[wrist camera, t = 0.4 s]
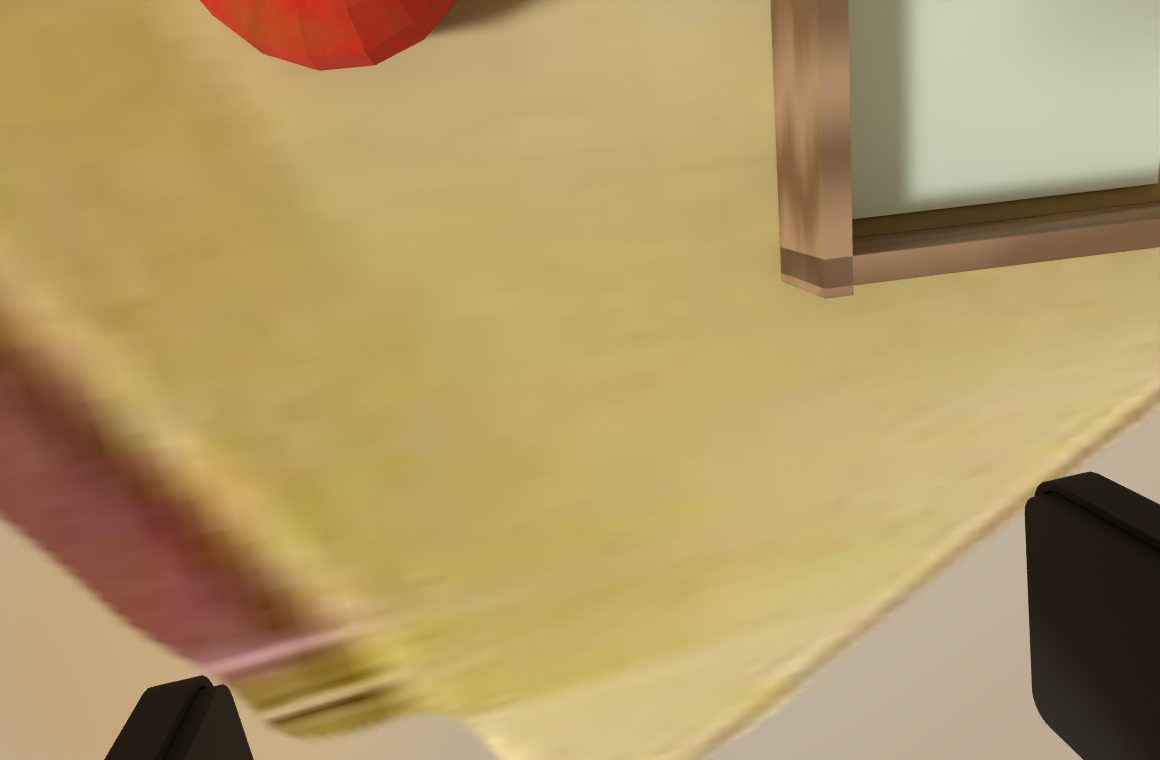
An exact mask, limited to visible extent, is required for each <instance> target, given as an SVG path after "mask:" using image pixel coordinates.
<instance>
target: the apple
mask: <svg viewBox="0 0 1160 760" xmlns="http://www.w3.org/2000/svg"><path fill="white" fill-rule="evenodd" d="M200 1H201V2H202V3H203V5H204V6H205V7H206V8H207V9H208V10H209V11H210V13H211V14H212V15H213V16H214V17H216V18H217V19H218V20H220V21H221V22H222V23H224V24H225V25H226V26H228V27H229V28H230V29H231V30H233V31H234V32H235V33H237V34H238V35H239V36H241V37H242V38H243V39H244V40H246V41H247V42H248V43H250V44H251V45H252V46H254V47H255V48H256V49H257V50H259V51H260V52H261V53H263V54H266V55H269V56H273V57H276V58H279V59H283V60H286V61H289V62H293V63H296V64H299V65H302V66H306V67H309V68H312V69H316V70H319V71H320V70H331V69H341V68H351V67H362V66H372V65H376V64H378V63H380V62H382V61H384V60H386V59H388V58H390V57H392V56H394V55H395V54H397V53H399V52H401V51H403V50H405V49H407V48H409V47H411V46H413V45H415V44H416V43H418V42H420V41H422V40H424V39H425V37H426V36H427V35H428V34H429V33H430V32H431V30H432V29H433V28H434V27H435V26H436V24H437V23H438V22H439V21H440V20H441V19H442V17H443V16H444V15H445V14H446V13H447V11H448V10H449V9H450V8H451V7H452V5H453V4H454V3H455V2H456V1H457V0H200Z"/></svg>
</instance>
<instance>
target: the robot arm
mask: <svg viewBox="0 0 1160 760" xmlns="http://www.w3.org/2000/svg"><path fill="white" fill-rule="evenodd" d="M1025 532H1026V556H1027V579H1028V603H1029V626H1030V651H1031V675H1032V692H1033V698H1034V701H1035V705H1036V707H1037V709H1038V711H1039V713H1040V715H1041V716H1042V718H1043V720H1044V721H1045V722H1046V723H1047V724H1048V725H1049V727H1050V728H1051V729H1052V730H1053V731H1054V732H1056V734H1058V735H1059V736H1060V737H1061V738H1062V739H1063V740H1064V741H1065V742H1066V743H1067V744H1068V745H1069V746H1070V747H1071V748H1072V749H1073V750H1074V751H1075V752H1076V753H1077V754H1078V755H1079V756H1080V757H1081V758H1082V759H1083V760H1160V504H1157V503H1156V502H1154V501H1152V500H1150V499H1147V498H1146V497H1144V496H1141V495H1140V494H1138V493H1136V492H1134V491H1132V490H1130V489H1128V488H1126V487H1124V486H1122V485H1119V484H1117V483H1116V482H1114V481H1112V480H1110V479H1108V478H1106V477H1104V476H1101V475H1100V474H1097V473H1093V472H1086V473H1081V474H1077V475H1072V476H1068V477H1064V478H1059V479H1055V480H1051V481H1046V482H1042V483H1041V484H1040V485H1039V486H1038V487H1037V490H1036V492H1035V497H1032V498H1030V499H1029V500H1028V501H1027V503H1026V505H1025ZM104 760H253V757H252V753H251V750H250V747H249V745H248V742H247V738H246V736H245V732H244V730H243V727H242V723H241V720H240V718H239V715H238V712H237V708H236V705H235V702H234V700H233V697H232V694H231V692H230V690H229V689H228V687H227V686H226V685H223V684H222V685H218V686H213V685H212V683H211V682H210V680H209V679H208V678H207V677H205V676H203V675H202V676H197V677H193V678H189V679H185V680H180V681H176V682H171V683H167V684H163V685H158V686H154V687H150V688H148V689H147V690H146V691H145V692H144V693H143V695H142V696H141V698H140V700H139V702H138V703H137V705H136V707H135V708H134V710H133V712H132V714H131V715H130V717H129V719H128V720H127V722H126V724H125V725H124V727H123V729H122V730H121V732H120V734H119V736H118V738H117V739H116V741H115V742H114V744H113V746H112V748H111V749H110V751H109V753H108V755H107V756H106V758H105V759H104Z"/></svg>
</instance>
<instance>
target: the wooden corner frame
mask: <svg viewBox="0 0 1160 760" xmlns="http://www.w3.org/2000/svg"><path fill="white" fill-rule="evenodd" d="M771 20H772V46H773V71H774V97H775V122H776V148H777V173H778V199H779V224H780V250H781V275H782V282H784V283H787V284H789V285H792V286H795V287H797V288H800V289H802V290H805V291H807V292H810V293H812V294H815V295H817V296H820V297H822V298H825V299H826V298H834V297H842V296H850V295H853V285H861V284H869V283H877V282H885V281H893V280H901V279H909V278H917V277H925V276H933V275H941V274H948V273H956V272H964V271H972V270H980V269H988V268H996V267H1004V266H1012V265H1020V264H1028V263H1036V262H1044V261H1052V260H1060V259H1068V258H1076V257H1084V256H1092V255H1100V254H1108V253H1116V252H1124V251H1132V250H1140V249H1148V248H1156V247H1160V202H1152V203H1144V204H1136V205H1127V206H1119V207H1110V208H1102V209H1094V210H1085V211H1077V212H1069V213H1060V214H1052V215H1043V216H1035V217H1027V218H1018V219H1010V220H1002V221H993V222H985V223H976V224H968V225H960V226H951V227H943V228H934V229H926V230H918V231H909V232H901V233H893V234H884V235H876V236H867V237H859V238H852V188H851V131H850V73H849V16H848V0H771Z"/></svg>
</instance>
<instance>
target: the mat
mask: <svg viewBox="0 0 1160 760" xmlns="http://www.w3.org/2000/svg"><path fill="white" fill-rule="evenodd" d="M848 16H849V73H850V131H851V188H852V219H858V218H867V217H875V216H884V215H892V214H901V213H909V212H918V211H926V210H935V209H943V208H952V207H961V206H969V205H978V204H986V203H995V202H1003V201H1012V200H1020V199H1029V198H1037V197H1046V196H1055V195H1063V194H1072V193H1080V192H1089V191H1097V190H1106V189H1114V188H1123V187H1131V186H1140V185H1149V184H1157V183H1158V177H1159V163H1160V0H848Z"/></svg>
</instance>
